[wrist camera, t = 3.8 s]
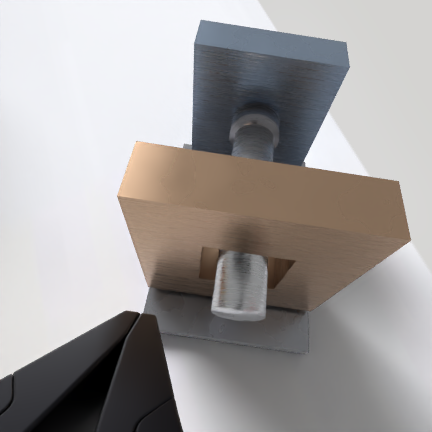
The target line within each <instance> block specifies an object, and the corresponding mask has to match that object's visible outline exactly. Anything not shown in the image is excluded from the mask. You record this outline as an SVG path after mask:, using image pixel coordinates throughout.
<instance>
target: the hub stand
mask: <svg viewBox="0 0 432 432" xmlns="http://www.w3.org/2000/svg"><path fill="white" fill-rule="evenodd" d="M349 68H350V66H349V59H348V52H347V44H346V42H340V41H334V40H328V39H321V38H314V37H308V36H302V35H295V34H288V33H282V32H276V31H269V30H263V29H257V28H250V27H244V26H237V25H231V24H224V23H218V22H211V21H205V20H201V21H200V25H199V28H198V32H197V35H196V39H195V42H194V79H193V125H192V145H189V144H184V146H183V148H184V149H191V150H197V151H204V152H210V153H217V154H223V155H230V156H236V157H243V158H250V159H256V160H263V161H269V162H276V163H282V164H289V165H295V166H302V167H305V162H303V161H304V159H305V157H306V155H307V153H308V151H309V149H310V147H311V145H312V143H313V141H314V139H315V137H316V135H317V133H318V131H319V129H320V127H321V125H322V123H323V121H324V119H325V117H326V115H327V113H328V111H329V109H330V106H331V104H332V102H333V100H334V98H335V96H336V94H337V92H338V90H339V88H340V86H341V84H342V82H343V80H344V78H345V76H346V74H347V72H348V70H349ZM267 276H268V256H261V255H255V254H248V253H242V252H235V251H228V250H222V249H219V254H218V262H217V269H216V277H215V284H214V292H213V297H211V296H204V295H198V294H191V293H184V292H178V291H171V290H165V289H158V288H151V287H150V288H149V292H148V296H147V300H146V304H145V308H144V313H146V314H152V315H155V316H156V317H157V322H158V326H159V331H160V333H165V334H172V335H179V336H185V337H192V338H199V339H205V340H212V341H219V342H225V343H232V344H239V345H245V346H252V347H259V348H265V349H272V350H279V351H285V352H292V353H299V354H305V353H308V352H309V338H308V311H304V310H297V309H291V308H284V307H277V306H271V305H266V297H267Z"/></svg>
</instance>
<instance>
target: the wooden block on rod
mask: <svg viewBox="0 0 432 432" xmlns="http://www.w3.org/2000/svg"><path fill="white" fill-rule="evenodd" d="M117 197H118V200H119V203H120V206H121V209H122V212H123V215H124V217H125V220H126V223H127V226H128V229H129V232H130V235H131V238H132V241H133V244H134V247H135V250H136V253H137V256H138V259H139V261H140V264H141V267H142V270H143V273H144V276H145V279H146V282H147V285H148V287H151V288H158V289H165V290H171V291H178V292H184V293H191V294H198V295H204V296H211V297H213V292H214V284H215V277H216V269H217V262H218V254H219V249H222V250H228V251H235V252H242V253H248V254H255V255H261V256H268V276H267V297H266V305H271V306H277V307H284V308H291V309H297V310H304V311H312V310H314V309H315V308H316V307H318V306H319V305H321V304H322V303H323V302H325V301H326V300H328V299H329V298H331V297H332V296H333V295H335V294H336V293H338V292H339V291H340V290H342V289H343V288H345V287H346V286H347V285H349V284H350V283H352V282H353V281H355V280H356V279H357V278H359V277H360V276H362V275H363V274H364V273H366V272H367V271H369V270H370V269H371V268H373V267H374V266H376V265H377V264H379V263H380V262H381V261H383V260H384V259H386V258H387V257H388V256H390V255H391V254H393V253H394V252H395V251H397V250H398V249H400V248H401V247H403V246H404V245H405V244H407V243H408V242H410V241H411V238H410V233H409V229H408V224H407V219H406V215H405V209H404V204H403V199H402V194H401V190H400V185H399V181H393V180H387V179H380V178H373V177H367V176H361V175H354V174H348V173H341V172H335V171H328V170H322V169H315V168H308V167H302V166H295V165H289V164H282V163H276V162H269V161H263V160H256V159H250V158H243V157H236V156H230V155H223V154H217V153H210V152H204V151H197V150H191V149H184V148H178V147H171V146H164V145H158V144H151V143H145V142H138V141H136V143H135V146H134V149H133V152H132V154H131V157H130V160H129V163H128V166H127V169H126V172H125V175H124V178H123V180H122V183H121V186H120V189H119V192H118V195H117Z"/></svg>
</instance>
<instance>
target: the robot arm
mask: <svg viewBox="0 0 432 432" xmlns="http://www.w3.org/2000/svg"><path fill="white" fill-rule="evenodd" d="M0 432H183V429H182V426H181V422H180V418H179V415H178V410H177V406H176V402H175V399H174V393H173V389H172V384H171V380H170V375H169V371H168V366H167V362H166V357H165V353H164V348H163V344H162V340H161V335H160V331H159V326H158V322H157V317H156V316H155V315H152V314H146V313H142V314H141V315H140V313H138V312H132V311H124V312H122V313H120V314H118V315H117V316H115V317H113V318H111V319H109V320H108V321H106V322H104V323H102V324H100V325H98V326H97V327H95V328H93V329H91V330H89V331H88V332H86V333H84V334H82V335H80V336H79V337H77V338H75V339H73V340H71V341H70V342H68V343H66V344H64V345H62V346H61V347H59V348H57V349H55V350H53V351H52V352H50V353H48V354H46V355H44V356H43V357H41V358H39V359H37V360H35V361H34V362H32V363H30V364H28V365H26V366H25V367H23V368H21V369H19V370H17V371H16V372H14V373H13V375H12V374H10V375H8V376H6V377H4V378H3V379H1V380H0Z"/></svg>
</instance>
